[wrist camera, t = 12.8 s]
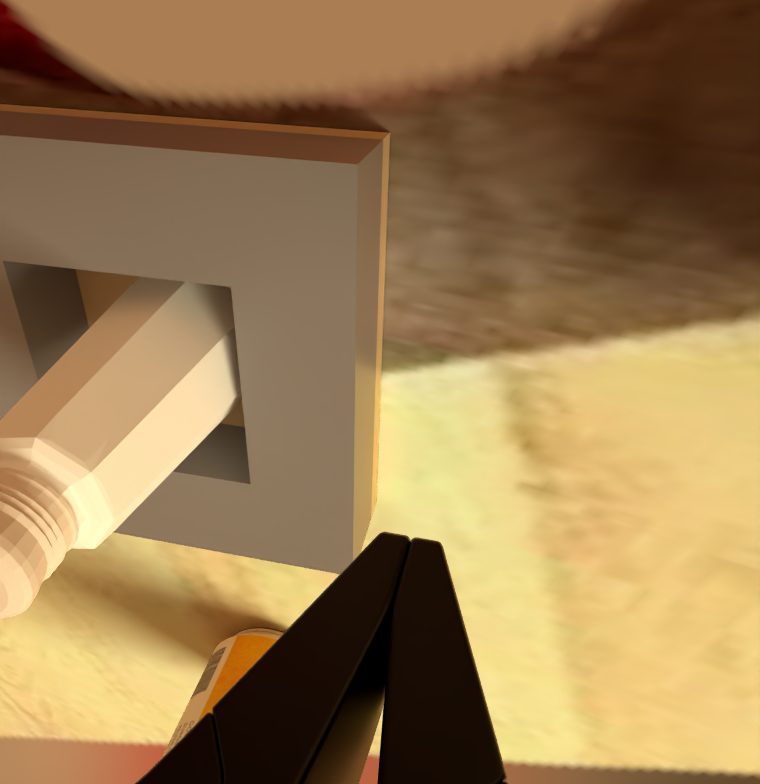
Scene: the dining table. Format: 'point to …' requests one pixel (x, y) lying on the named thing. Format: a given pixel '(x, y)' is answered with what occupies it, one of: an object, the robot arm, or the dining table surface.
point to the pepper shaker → (111, 425)
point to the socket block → (249, 297)
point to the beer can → (223, 674)
